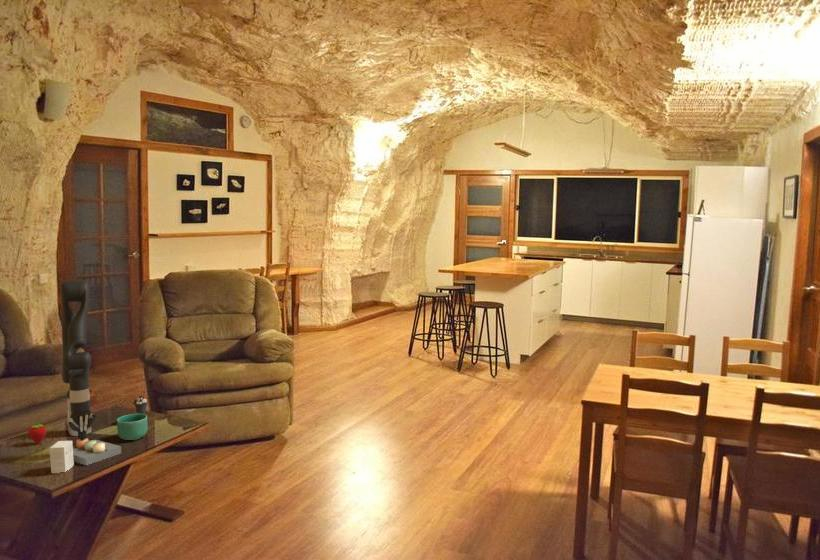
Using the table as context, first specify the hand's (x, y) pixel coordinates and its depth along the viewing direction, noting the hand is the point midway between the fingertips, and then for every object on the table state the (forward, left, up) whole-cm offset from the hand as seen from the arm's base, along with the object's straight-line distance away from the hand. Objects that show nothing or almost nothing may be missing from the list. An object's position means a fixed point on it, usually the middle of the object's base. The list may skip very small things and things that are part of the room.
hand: (82, 439), depth 277 cm
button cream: (+11, 0, -4) cm, 12 cm away
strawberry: (-29, -2, -6) cm, 30 cm away
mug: (+1, +25, -6) cm, 25 cm away
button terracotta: (0, 0, -4) cm, 4 cm away
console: (+5, 0, -6) cm, 8 cm away
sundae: (-14, +40, -6) cm, 42 cm away
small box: (+10, -15, -6) cm, 19 cm away
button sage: (+5, 0, -4) cm, 7 cm away
